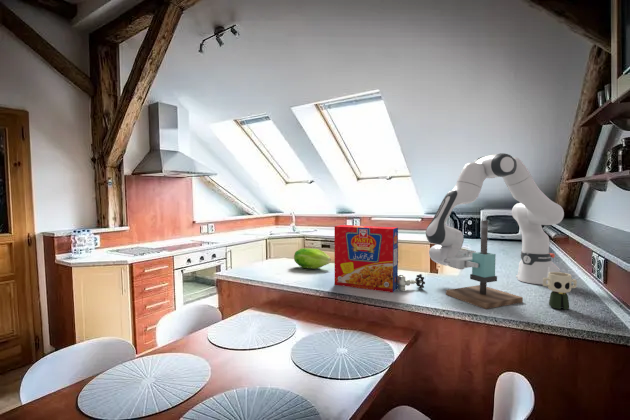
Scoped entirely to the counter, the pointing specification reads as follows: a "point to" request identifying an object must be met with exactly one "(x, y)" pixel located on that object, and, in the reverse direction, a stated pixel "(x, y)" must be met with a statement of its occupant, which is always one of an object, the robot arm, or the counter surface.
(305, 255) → the green papaya
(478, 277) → the rubber ring
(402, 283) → the valve
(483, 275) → the sleeve
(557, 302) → the character mug
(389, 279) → the pasta box
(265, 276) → the counter surface
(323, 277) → the counter surface
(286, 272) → the counter surface
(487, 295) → the pipe stand
